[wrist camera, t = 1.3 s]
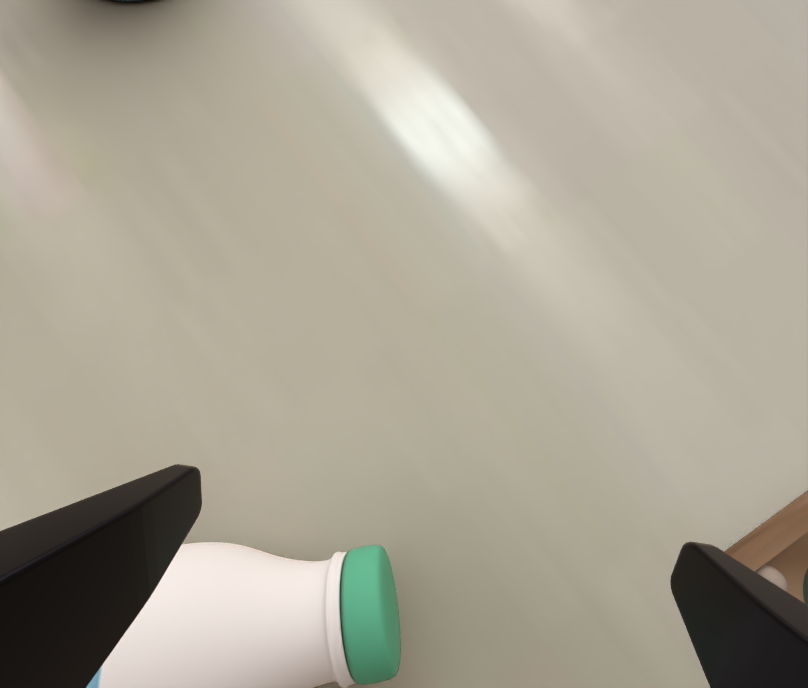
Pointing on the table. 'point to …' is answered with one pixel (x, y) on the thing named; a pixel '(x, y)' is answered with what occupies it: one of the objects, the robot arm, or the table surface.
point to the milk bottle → (261, 622)
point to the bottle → (806, 588)
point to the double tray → (779, 548)
